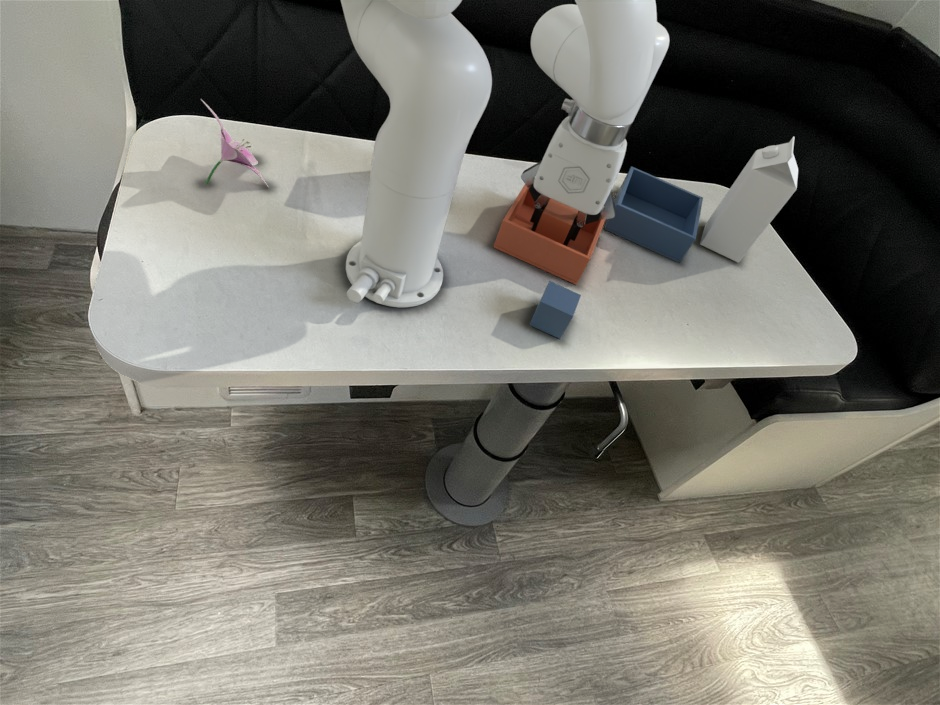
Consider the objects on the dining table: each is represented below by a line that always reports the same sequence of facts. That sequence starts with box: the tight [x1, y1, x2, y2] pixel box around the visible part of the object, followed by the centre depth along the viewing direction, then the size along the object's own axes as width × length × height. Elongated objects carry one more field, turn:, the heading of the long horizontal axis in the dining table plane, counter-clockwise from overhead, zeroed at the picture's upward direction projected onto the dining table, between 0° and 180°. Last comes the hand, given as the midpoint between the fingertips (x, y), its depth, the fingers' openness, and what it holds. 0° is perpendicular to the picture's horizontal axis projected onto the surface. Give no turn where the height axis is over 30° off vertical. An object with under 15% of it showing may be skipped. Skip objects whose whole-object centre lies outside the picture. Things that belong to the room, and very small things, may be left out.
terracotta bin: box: [493, 184, 607, 286], centre depth 87 cm, size 13×13×5 cm
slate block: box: [528, 280, 582, 340], centre depth 77 cm, size 4×4×4 cm
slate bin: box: [603, 166, 704, 264], centre depth 97 cm, size 13×13×5 cm
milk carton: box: [699, 136, 799, 264], centre depth 94 cm, size 7×7×19 cm
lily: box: [200, 98, 269, 187], centre depth 78 cm, size 12×12×10 cm
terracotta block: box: [535, 198, 578, 244], centre depth 87 cm, size 4×4×4 cm
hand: (551, 233), depth 88 cm, fingers closed on terracotta block, 4 cm apart
